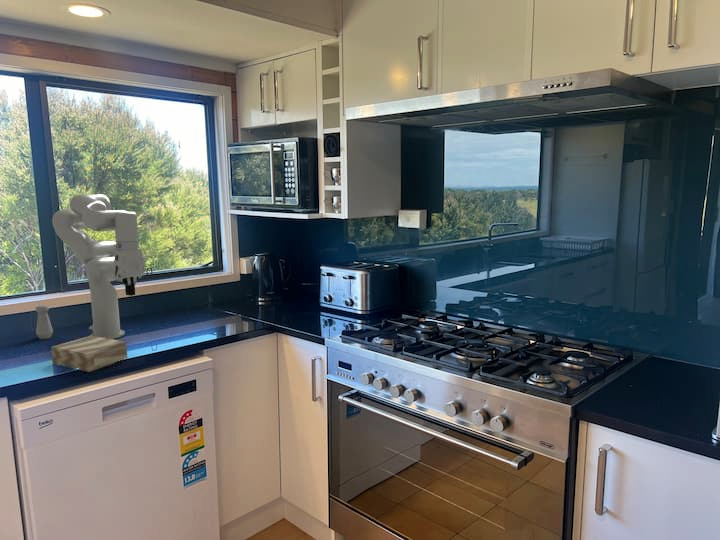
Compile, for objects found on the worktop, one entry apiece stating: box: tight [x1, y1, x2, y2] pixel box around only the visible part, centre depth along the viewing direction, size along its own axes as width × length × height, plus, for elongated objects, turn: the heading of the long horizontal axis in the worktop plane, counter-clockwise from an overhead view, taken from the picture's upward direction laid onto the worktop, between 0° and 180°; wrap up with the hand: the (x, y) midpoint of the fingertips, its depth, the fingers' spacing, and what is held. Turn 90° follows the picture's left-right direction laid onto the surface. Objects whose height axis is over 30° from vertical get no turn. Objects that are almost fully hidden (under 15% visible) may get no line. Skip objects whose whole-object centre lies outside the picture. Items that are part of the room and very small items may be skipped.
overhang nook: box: [51, 335, 128, 373], centre depth 183 cm, size 18×15×6 cm
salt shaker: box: [35, 304, 54, 340], centre depth 211 cm, size 6×6×13 cm
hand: (130, 294), depth 198 cm, fingers closed
